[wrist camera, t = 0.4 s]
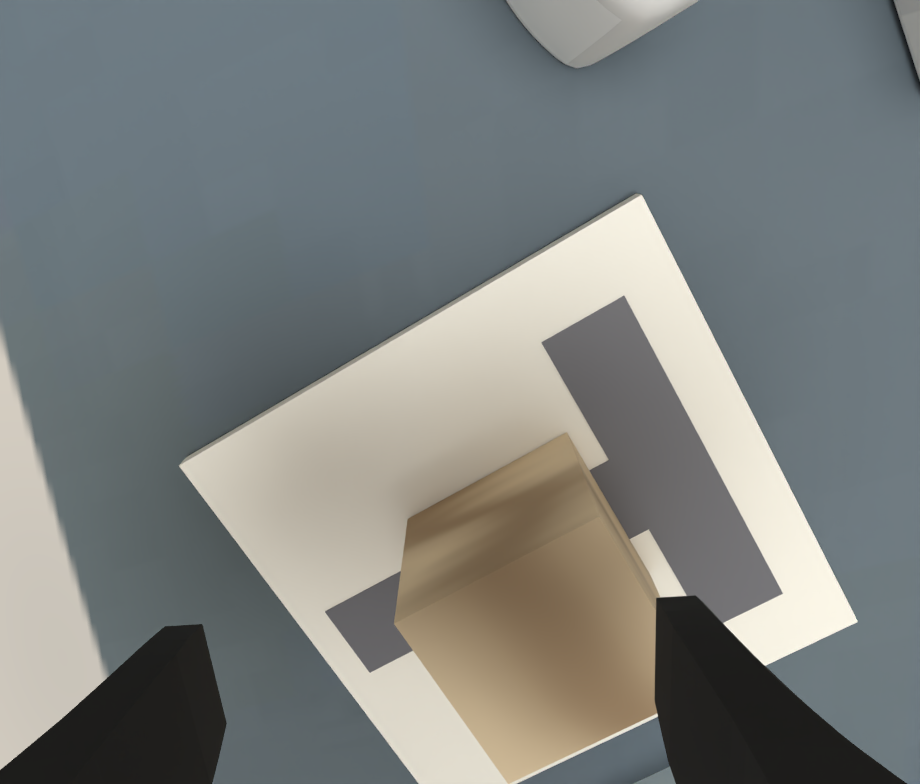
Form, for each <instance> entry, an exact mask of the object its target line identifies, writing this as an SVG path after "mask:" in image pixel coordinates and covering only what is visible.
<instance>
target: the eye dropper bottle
mask: <svg viewBox="0 0 920 784" xmlns="http://www.w3.org/2000/svg"><path fill="white" fill-rule="evenodd" d="M506 1H507V3H508V4H509V6H510V7H511V9H512V10H513V12H514V13H515V15H516V16H517V17H518V19H519V20H520V21H521V22H522V24H523V25H524V26H525V27H526V29H527V30H528V31H529V32H530V33H531V34H532V35H533V37H534V38H535V39H536V40H537V41H538V42H539V43H540V44H541V45H542V46H543V47H544V48H545V49H547V50H548V51H549V52H550V53H551V54H552V55H553V56H554V57H556V58H557V59H558V60H560V61H561V62H562V63H564V64H566V65H568V66H571V67H574V68H581V67H585V66H590V65H592V64H594V63H596V62H598V61H600V60H602V59H603V58H605V57H607V56H609V55H610V54H612V53H614V52H616V51H617V50H619V49H621V48H622V47H624V46H626V45H628V44H629V43H631V42H633V41H634V40H636V39H638V38H639V37H641V36H643V35H644V34H646V33H647V32H649V31H651V30H652V29H654V28H656V27H657V26H659V25H661V24H662V23H664V22H665V21H667V20H669V19H670V18H672V17H673V16H675V15H677V14H678V13H680V12H681V11H683V10H685V9H686V8H688V7H689V6H691V5H693V4H694V3H696V2H697V1H699V0H506Z"/></svg>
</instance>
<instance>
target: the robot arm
mask: <svg viewBox="0 0 920 784" xmlns="http://www.w3.org/2000/svg"><path fill="white" fill-rule="evenodd" d="M654 701H655V705H656V710H657V714H658V719H659V723H660V728H661V732H662V737H663V741H664V745H665V749H666V753H667V758H668V762H669V765H670V768H671V771H672V774H673V777H674V780H675V783H676V784H907V783H905V782H904V781H902V780H901V779H900V778H898V777H897V776H895V775H894V774H893V773H891V772H890V771H889V770H887V769H886V768H885V767H883V766H882V765H881V764H879V763H878V762H876V761H875V760H874V759H872V758H871V757H870V756H868V755H867V754H866V753H864V752H863V751H862V750H860V749H859V748H858V747H856V746H855V745H854V744H852V743H851V742H850V741H849V740H847V739H846V738H845V737H844V736H842V735H841V734H840V733H839V732H838V731H836V730H835V729H834V728H833V727H832V726H831V725H829V724H828V723H827V722H826V721H825V720H824V719H822V718H821V717H820V716H819V715H818V714H817V713H815V712H814V711H813V710H812V709H811V708H810V707H808V706H807V705H806V704H805V703H804V702H803V701H802V700H801V699H800V698H798V697H797V696H796V695H795V694H794V693H793V692H792V691H791V690H790V689H789V688H788V687H787V686H786V685H784V684H783V683H782V682H781V681H780V680H779V679H778V678H777V677H776V676H775V675H774V674H773V673H772V672H771V671H770V670H769V669H768V668H767V667H765V666H764V665H763V664H762V663H761V662H760V661H759V660H758V659H757V658H756V657H755V656H754V655H753V654H752V653H751V652H750V651H749V650H748V649H747V648H746V647H745V646H744V645H743V644H742V642H741V641H740V640H739V639H738V638H737V637H736V636H735V635H734V634H733V633H732V632H731V631H730V630H729V629H728V628H727V627H726V626H725V625H724V624H723V623H722V622H721V621H720V620H719V618H718V617H717V616H716V615H715V614H714V613H713V612H712V611H711V610H710V609H709V608H708V607H707V606H706V605H705V604H704V602H703V601H701V600H700V599H699V598H698V597H697V596H696V595H693V596H676V597H659V598H656V641H655V699H654ZM226 724H227V723H226V719H225V715H224V711H223V707H222V703H221V699H220V695H219V691H218V687H217V683H216V678H215V674H214V670H213V666H212V662H211V658H210V654H209V650H208V646H207V642H206V638H205V634H204V630H203V625H202V624H199V625H182V626H165V627H164V628H163V629H161V630H160V631H159V632H158V633H157V634H155V635H154V636H153V637H152V638H151V639H150V640H148V641H147V642H146V643H145V644H144V645H143V646H142V647H141V648H140V649H138V650H137V651H136V652H135V653H134V654H133V655H132V656H131V657H130V658H129V659H128V660H126V661H125V662H124V663H123V664H122V665H121V666H120V667H119V668H118V669H117V670H116V671H114V672H113V673H112V674H111V675H110V676H109V677H108V678H107V679H106V680H105V681H104V682H102V683H101V684H100V685H99V686H98V687H97V688H96V689H95V690H94V691H92V692H91V693H90V694H89V695H88V696H87V697H86V698H85V699H84V700H82V701H81V702H80V703H79V704H78V705H77V706H76V707H75V708H74V709H72V710H71V711H70V712H69V713H68V714H67V715H66V716H65V717H64V718H62V719H61V720H60V721H59V722H58V723H56V724H55V725H54V726H53V727H52V728H50V729H49V730H48V731H47V732H46V733H44V734H43V735H42V736H41V737H40V738H38V739H37V740H36V741H35V742H34V743H32V744H31V745H30V746H29V747H28V748H26V749H25V750H24V751H23V752H22V753H21V754H19V755H18V756H17V757H16V758H14V759H13V760H12V761H11V762H10V763H8V764H7V765H6V766H5V767H4V768H2V769H1V770H0V784H212V782H213V778H214V774H215V770H216V766H217V762H218V758H219V754H220V750H221V745H222V741H223V737H224V732H225V728H226Z"/></svg>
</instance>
